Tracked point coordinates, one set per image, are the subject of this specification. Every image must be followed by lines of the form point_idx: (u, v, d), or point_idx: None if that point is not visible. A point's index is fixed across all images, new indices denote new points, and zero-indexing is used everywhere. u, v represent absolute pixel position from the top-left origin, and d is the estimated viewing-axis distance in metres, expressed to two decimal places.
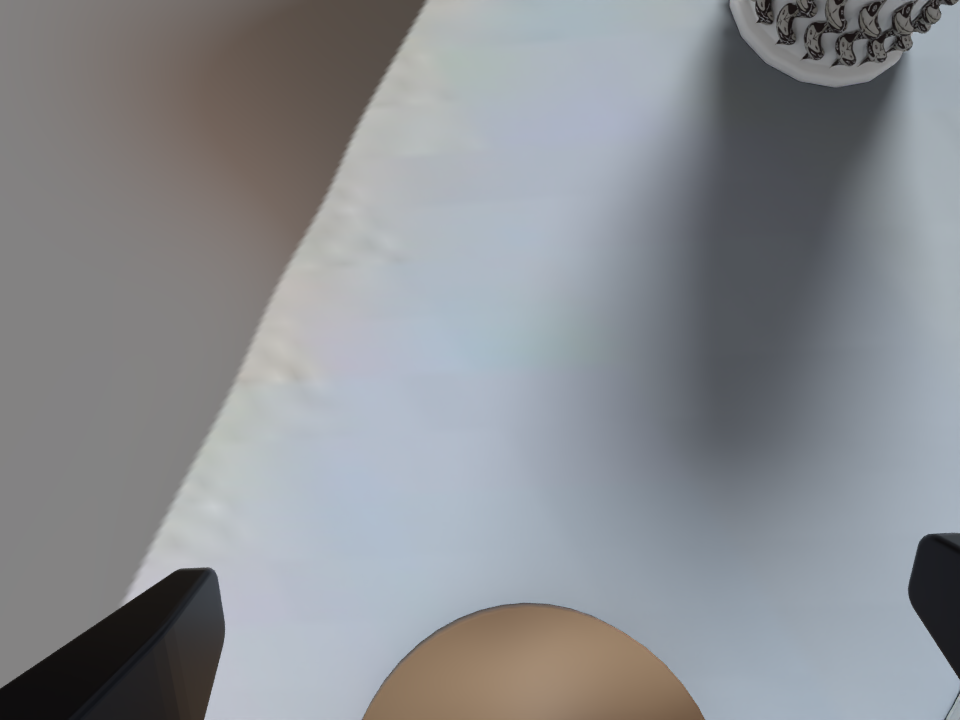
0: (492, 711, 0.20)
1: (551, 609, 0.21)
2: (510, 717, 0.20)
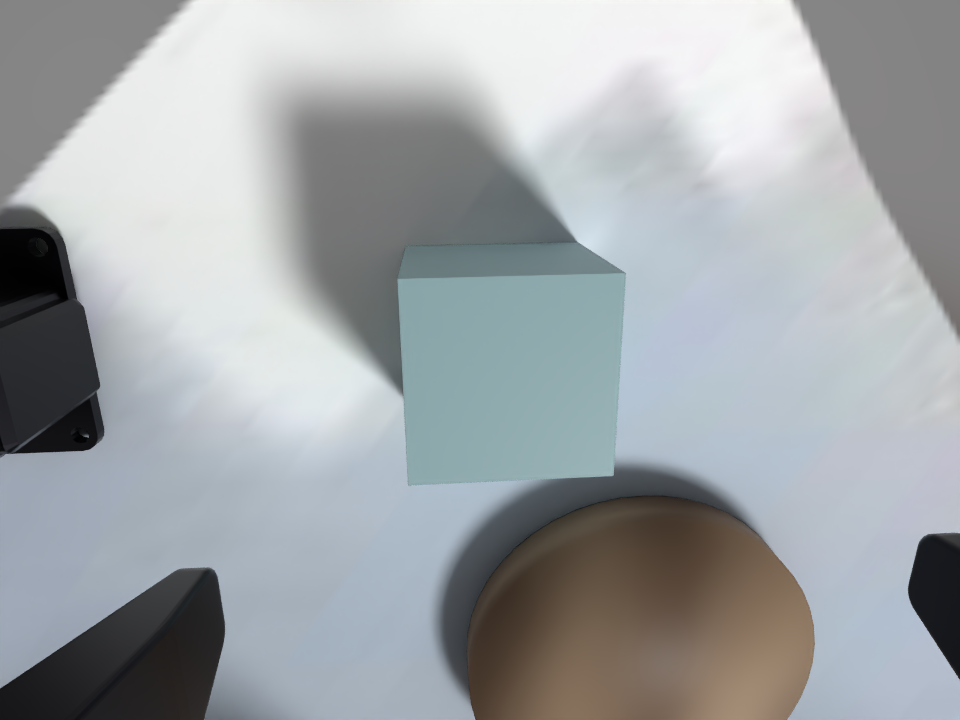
0: (735, 675, 0.22)
1: None
2: (722, 686, 0.22)
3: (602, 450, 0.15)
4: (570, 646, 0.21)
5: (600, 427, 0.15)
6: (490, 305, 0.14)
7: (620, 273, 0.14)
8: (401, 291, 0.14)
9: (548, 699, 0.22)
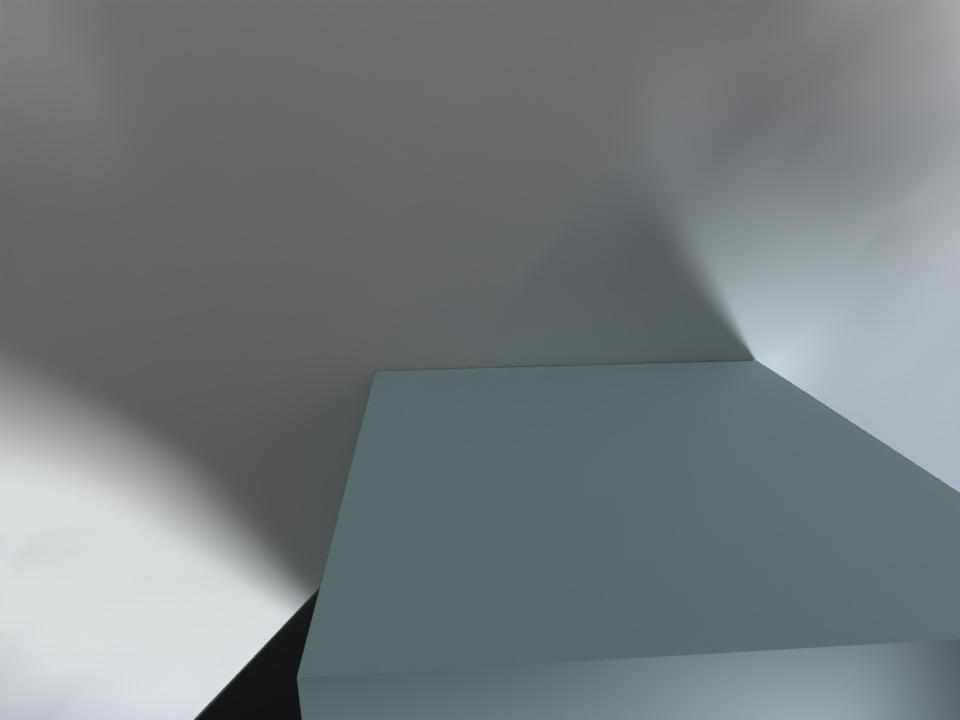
0: None
1: None
2: None
3: None
4: None
5: None
6: None
7: None
8: (315, 717, 0.04)
9: None
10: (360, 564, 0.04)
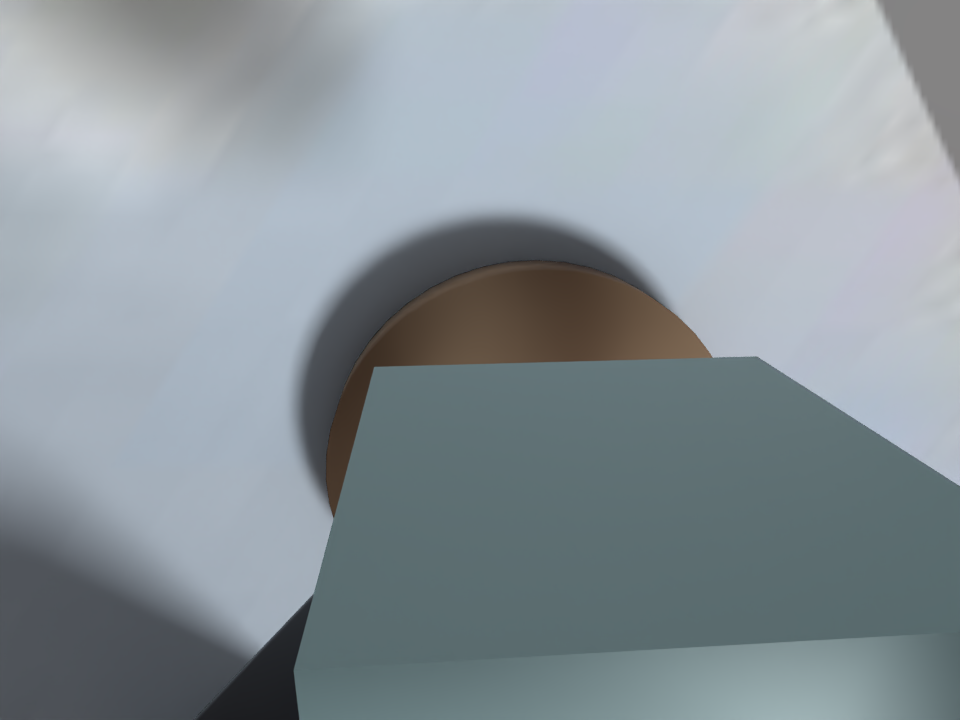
0: None
1: None
2: None
3: None
4: None
5: None
6: None
7: None
8: (312, 710, 0.03)
9: None
10: (357, 558, 0.04)
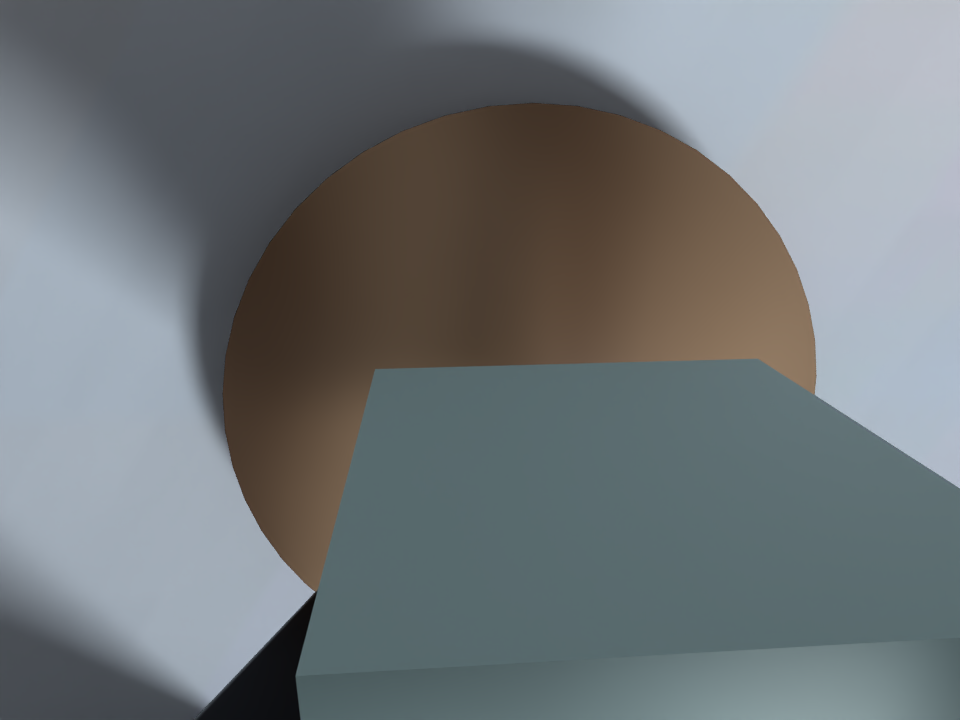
0: None
1: None
2: None
3: None
4: (396, 362, 0.12)
5: None
6: None
7: None
8: (314, 716, 0.03)
9: None
10: (359, 562, 0.04)
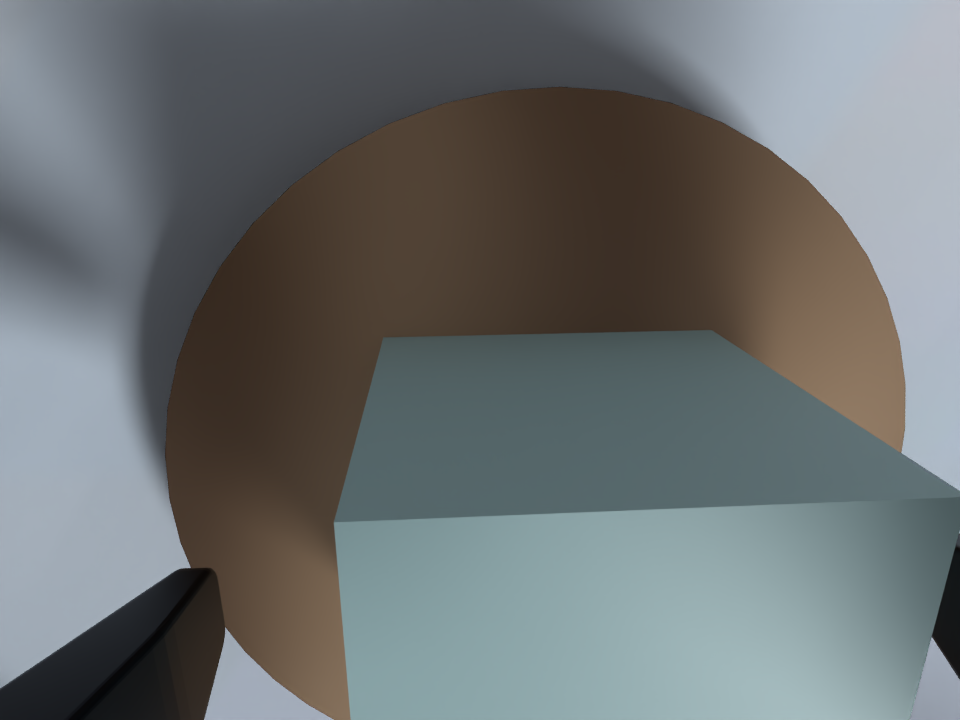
0: None
1: None
2: None
3: None
4: None
5: None
6: (595, 580, 0.05)
7: (953, 497, 0.05)
8: (346, 553, 0.05)
9: None
10: (376, 461, 0.06)
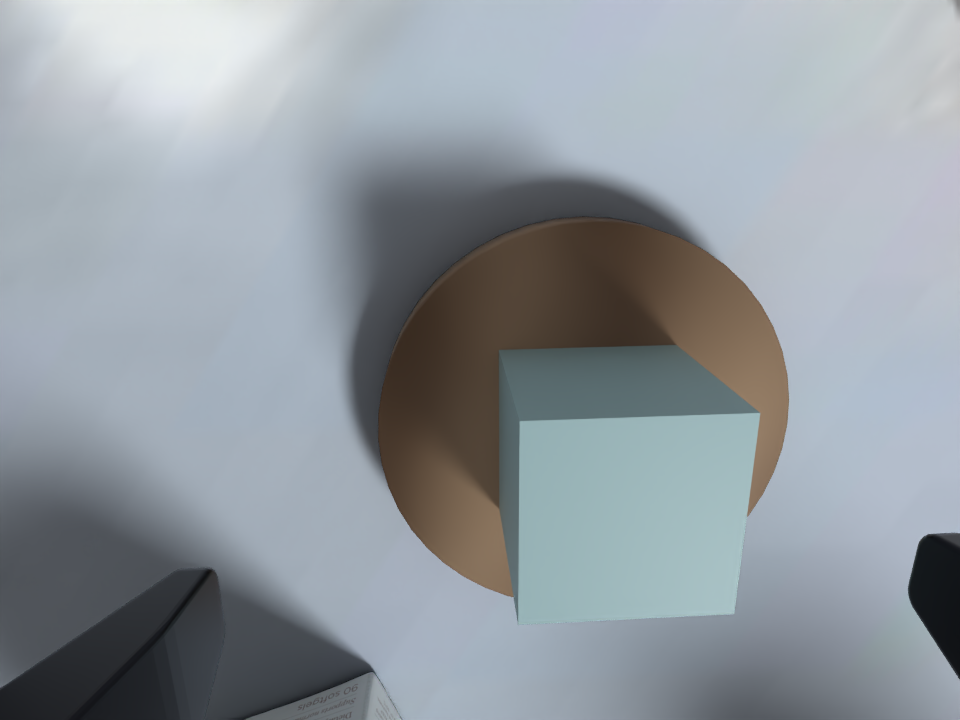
0: None
1: None
2: None
3: (724, 588, 0.15)
4: (497, 392, 0.18)
5: (723, 566, 0.14)
6: (616, 445, 0.13)
7: (754, 413, 0.13)
8: (523, 433, 0.13)
9: (473, 463, 0.19)
10: (525, 403, 0.14)
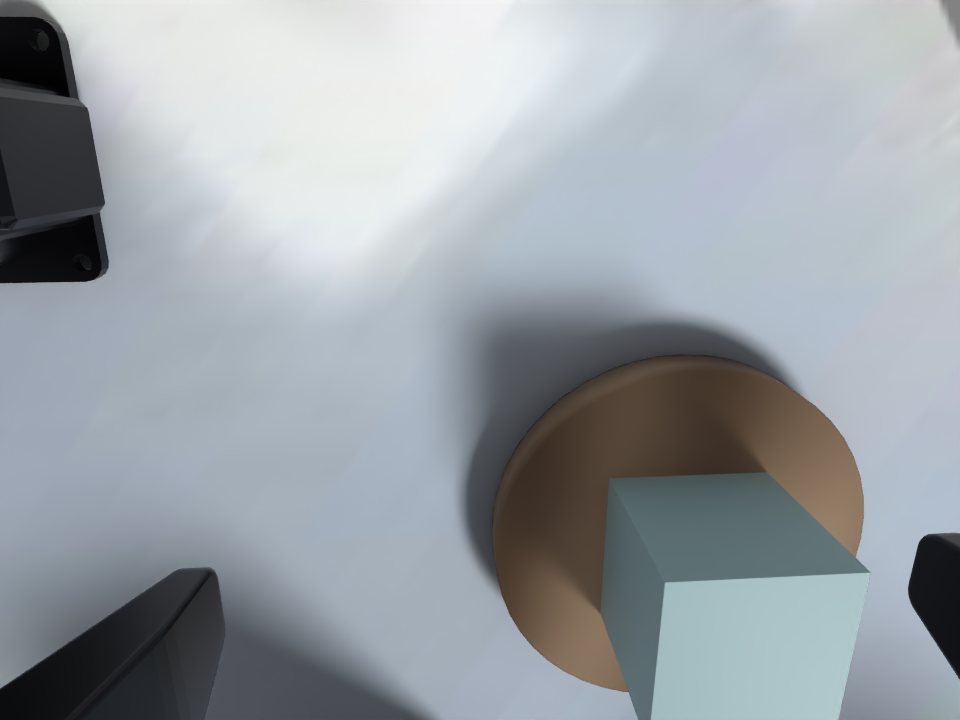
0: None
1: None
2: None
3: (828, 713, 0.17)
4: (605, 513, 0.20)
5: (829, 695, 0.16)
6: (746, 600, 0.15)
7: (865, 572, 0.15)
8: (667, 592, 0.15)
9: (580, 574, 0.21)
10: (661, 557, 0.16)
